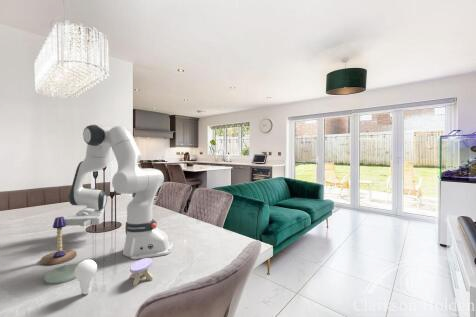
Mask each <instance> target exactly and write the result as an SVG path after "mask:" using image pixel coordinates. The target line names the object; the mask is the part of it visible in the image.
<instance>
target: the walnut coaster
mask: <svg viewBox="0 0 476 317" xmlns="http://www.w3.org/2000/svg"><path fill="white" fill-rule="evenodd" d="M62 251H64V252H65V254H66V255H65V256H63V257H59V258H53V255H54V254H55V253H56V252H57V251H54V252H50V253H49V254H46V255H44V256H42V258H41V259H40V263H41V265H43V266H53V265H56V266H57V265H60V264H64V263H67V262H69V261H72V260H73V259H76V257H77V251H76V250H74V249H65V250H64V249H62Z"/></svg>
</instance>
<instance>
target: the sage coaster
mask: <svg viewBox="0 0 476 317" xmlns="http://www.w3.org/2000/svg"><path fill="white" fill-rule="evenodd" d="M78 264H79V263H68V264H64V265H62V266H59V267H55V268H53V269H51V270H50V271H48V272H47V273H46V274H45V275H44V282H45V284H46V283H47V284H51V285H57V284H63V283H67V282H70V281H73V280H75V279H77V278H76V276H75V268H76V267H77V265H78Z"/></svg>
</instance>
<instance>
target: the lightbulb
mask: <svg viewBox="0 0 476 317" xmlns="http://www.w3.org/2000/svg"><path fill="white" fill-rule="evenodd" d="M77 264H78V265H77V267H76V268H75V276H76V278H75V279H77V281H78V283H79V288H80V292H81V294H82V295H87V294H88V295H89V293H90V292H91V291H92V284H93V279H94V276H95V275H96V274H97V271H98V264H97V263H96V262H95V261H94V260H93V259H84V260H81V261H80V262H79V263H77Z"/></svg>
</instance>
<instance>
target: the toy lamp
mask: <svg viewBox="0 0 476 317" xmlns="http://www.w3.org/2000/svg"><path fill="white" fill-rule="evenodd" d="M64 227H67V226H66V222H65V219H64V217H62V216H57V217H55V219H54V222H53V224H52V228H53V229H56V230H57V231H56V251H55V252H56V253H55V254H54V255H53V258H59V257H63V256H65V255H66V254H65V252H64V251H62V250H63V238H62V236H63V234H62V233H63V231H62V230H63V228H64Z"/></svg>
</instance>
